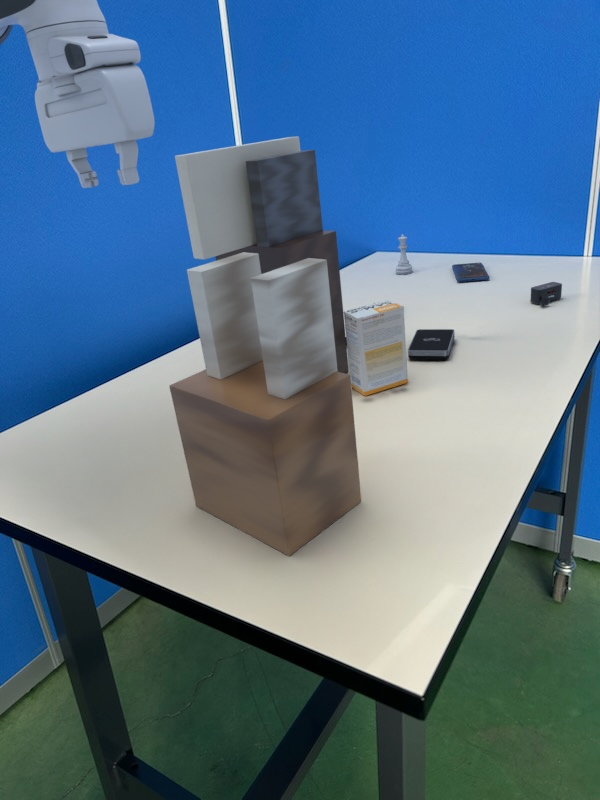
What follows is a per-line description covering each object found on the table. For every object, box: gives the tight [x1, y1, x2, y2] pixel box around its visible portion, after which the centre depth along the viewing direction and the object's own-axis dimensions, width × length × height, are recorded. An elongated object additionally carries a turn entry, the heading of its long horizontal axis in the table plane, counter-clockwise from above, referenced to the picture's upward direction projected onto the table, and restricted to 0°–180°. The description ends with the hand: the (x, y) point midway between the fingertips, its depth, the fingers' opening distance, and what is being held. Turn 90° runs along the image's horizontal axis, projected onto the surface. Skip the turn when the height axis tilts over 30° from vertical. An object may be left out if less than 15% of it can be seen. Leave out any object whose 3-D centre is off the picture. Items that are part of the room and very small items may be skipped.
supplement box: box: [343, 299, 409, 397], centre depth 98 cm, size 8×5×13 cm, turn 114°
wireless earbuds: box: [530, 281, 563, 307], centre depth 128 cm, size 5×7×3 cm, turn 115°
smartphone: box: [451, 262, 491, 283], centre depth 155 cm, size 8×1×15 cm
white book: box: [174, 136, 301, 261], centre depth 93 cm, size 22×2×14 cm, turn 136°
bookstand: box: [215, 149, 350, 374], centre depth 101 cm, size 12×16×36 cm
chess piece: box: [395, 233, 414, 276], centre depth 162 cm, size 4×4×10 cm
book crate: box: [168, 252, 362, 557], centre depth 68 cm, size 12×16×28 cm
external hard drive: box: [407, 328, 456, 361], centre depth 111 cm, size 7×11×2 cm, turn 162°
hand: (109, 185), depth 76 cm, fingers open, 8 cm apart
